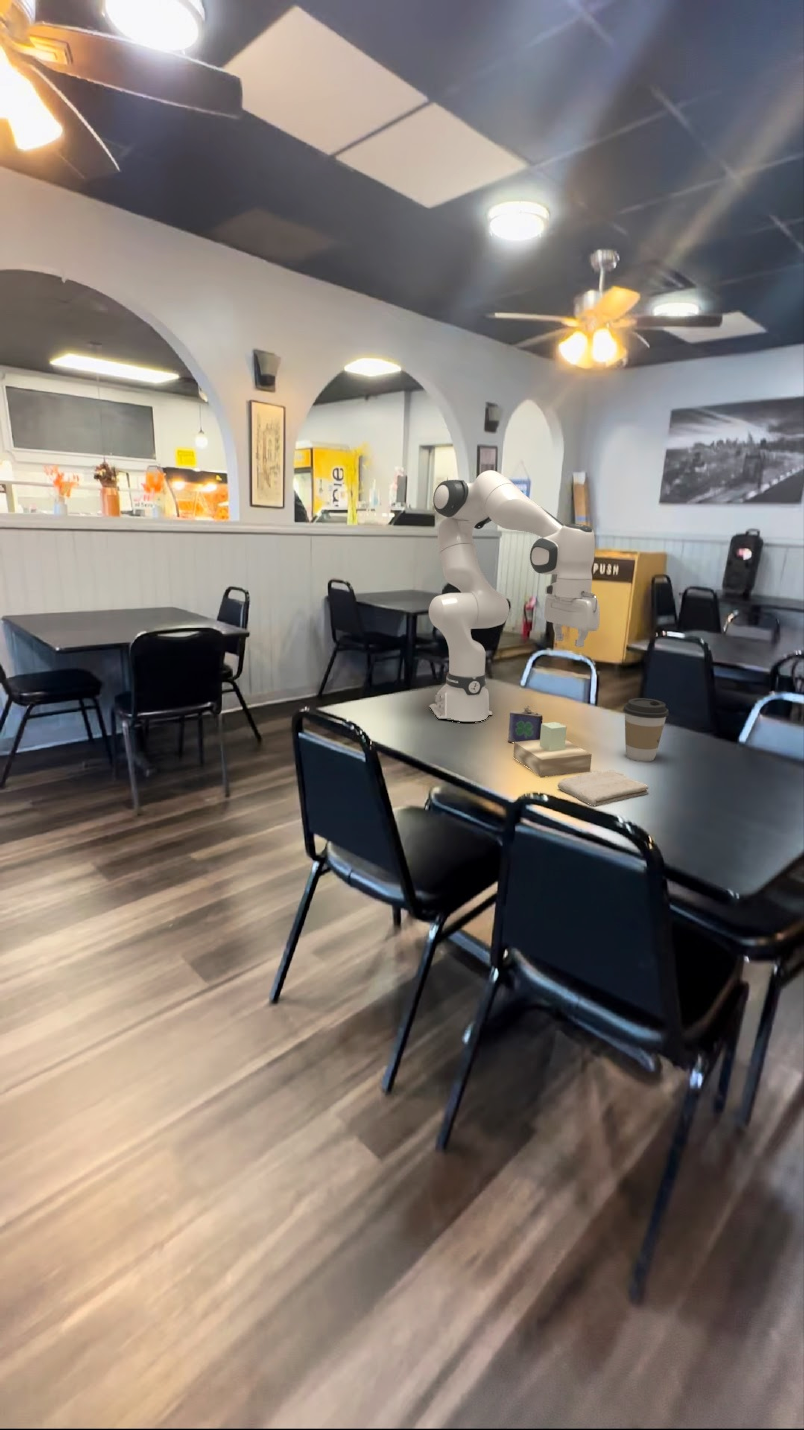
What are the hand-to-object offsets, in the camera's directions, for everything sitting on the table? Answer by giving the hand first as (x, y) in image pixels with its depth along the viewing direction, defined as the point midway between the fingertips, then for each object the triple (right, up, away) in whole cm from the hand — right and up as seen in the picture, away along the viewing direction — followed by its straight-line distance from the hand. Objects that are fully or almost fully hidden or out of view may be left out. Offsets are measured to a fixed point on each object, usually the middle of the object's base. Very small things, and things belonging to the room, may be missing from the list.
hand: (568, 643), depth 174 cm
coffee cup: (+20, -30, +3) cm, 36 cm away
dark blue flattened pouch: (-9, -27, +12) cm, 31 cm away
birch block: (-6, -32, -4) cm, 32 cm away
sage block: (-5, -27, -5) cm, 28 cm away
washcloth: (+3, -37, -20) cm, 42 cm away
